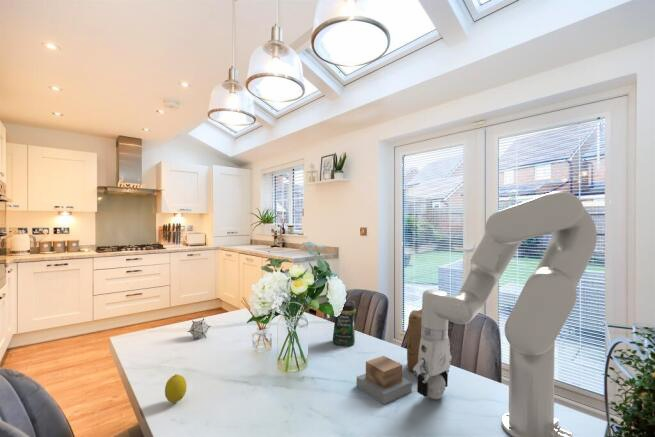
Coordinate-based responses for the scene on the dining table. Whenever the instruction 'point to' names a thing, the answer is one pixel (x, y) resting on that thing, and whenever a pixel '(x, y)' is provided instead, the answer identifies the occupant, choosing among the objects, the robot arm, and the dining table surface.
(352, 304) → the coffee jar
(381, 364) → the walnut block
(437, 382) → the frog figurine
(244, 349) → the dining table surface
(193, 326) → the grey spiky faceted part
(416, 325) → the block
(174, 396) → the lemon
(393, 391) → the slate plinth
